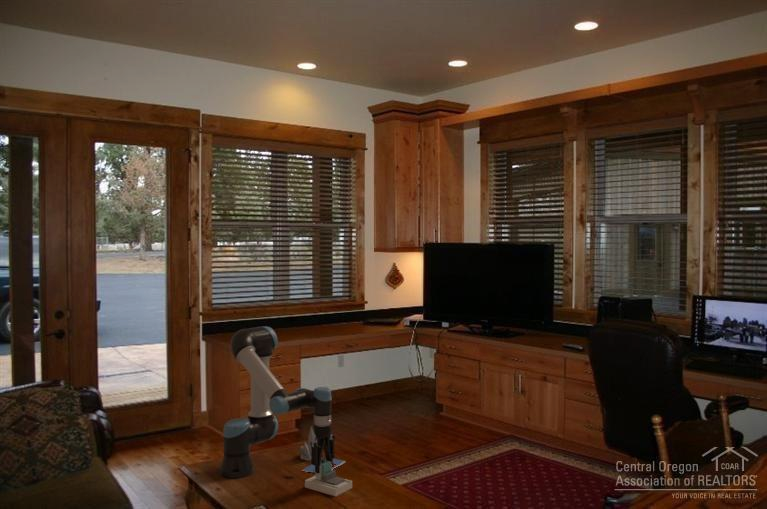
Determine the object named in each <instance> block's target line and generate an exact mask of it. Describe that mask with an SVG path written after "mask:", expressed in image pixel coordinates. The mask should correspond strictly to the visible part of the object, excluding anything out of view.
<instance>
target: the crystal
mask: <svg viewBox="0 0 767 509" xmlns="http://www.w3.org/2000/svg"><path fill="white" fill-rule="evenodd" d="M315 437H316V435H315V433H314V428H313V426H310V430H309V433H308V436H307V443H306V441H304V444H303V446H300V447H299V450H300V452H301V455H300V457H299V458H300V459H301V460H304V461H311V444H310V443H311V442H314V441H315ZM319 447H320V446H319Z"/></svg>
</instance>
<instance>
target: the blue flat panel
mask: <svg viewBox="0 0 767 509" xmlns="http://www.w3.org/2000/svg"><path fill="white" fill-rule="evenodd" d="M332 459H333V463H334V464H336V465H334V467H332V471H333V469H334V468H336V467H337V468H339V467H340V466H341V465H343V464H345V463H346V461H345V460H341V459H337V458H332ZM338 466H339V467H338ZM337 468H336V469H337ZM313 470H314V471H313ZM334 470H335V469H334ZM302 471H305V472H304V473H307V472H315V465H312V464H310V465H308V466H306V467H305V468H303V469H302V470H301V472H302Z"/></svg>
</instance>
